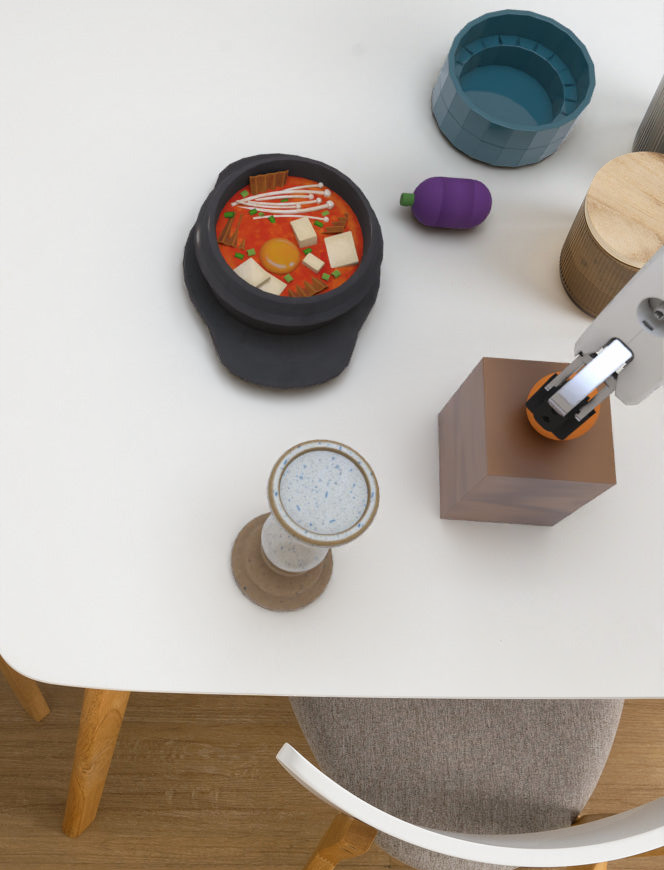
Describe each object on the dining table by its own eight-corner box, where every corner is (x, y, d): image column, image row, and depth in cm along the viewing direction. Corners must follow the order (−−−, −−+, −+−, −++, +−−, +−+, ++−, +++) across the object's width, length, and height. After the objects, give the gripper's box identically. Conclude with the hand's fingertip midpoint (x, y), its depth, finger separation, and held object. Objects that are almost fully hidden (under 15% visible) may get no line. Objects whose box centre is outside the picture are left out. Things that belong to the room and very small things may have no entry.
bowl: (564, 59, 101) (590, 15, 95) (572, 175, 97) (600, 136, 91) (429, 49, 101) (447, 4, 95) (431, 164, 96) (450, 124, 91)
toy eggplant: (481, 199, 95) (498, 170, 91) (483, 240, 94) (500, 212, 90) (395, 193, 95) (407, 163, 91) (395, 233, 94) (408, 205, 90)
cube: (546, 421, 89) (607, 365, 77) (552, 526, 86) (617, 484, 74) (437, 414, 88) (483, 356, 77) (440, 518, 85) (487, 474, 74)
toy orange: (579, 390, 76) (610, 362, 71) (583, 452, 75) (615, 427, 70) (514, 386, 76) (540, 357, 71) (517, 447, 75) (544, 422, 70)
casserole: (182, 163, 96) (186, 104, 88) (368, 168, 96) (390, 110, 88) (181, 395, 88) (185, 354, 80) (383, 399, 89) (408, 359, 81)
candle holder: (234, 614, 82) (264, 557, 63) (226, 516, 85) (254, 431, 66) (336, 609, 83) (397, 551, 63) (325, 511, 85) (381, 426, 66)
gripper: (709, 385, 42) (548, 502, 58) (946, 170, 45) (731, 337, 62) (581, 266, 43) (459, 413, 60) (820, 68, 47) (643, 257, 63)
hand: (598, 374), depth 61 cm, fingers open, 9 cm apart
